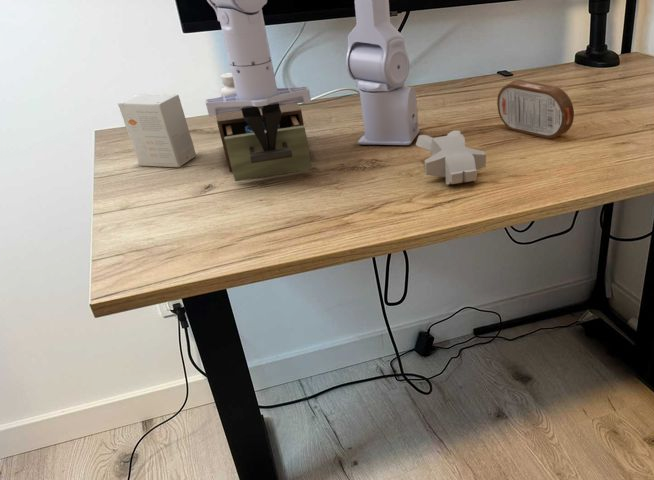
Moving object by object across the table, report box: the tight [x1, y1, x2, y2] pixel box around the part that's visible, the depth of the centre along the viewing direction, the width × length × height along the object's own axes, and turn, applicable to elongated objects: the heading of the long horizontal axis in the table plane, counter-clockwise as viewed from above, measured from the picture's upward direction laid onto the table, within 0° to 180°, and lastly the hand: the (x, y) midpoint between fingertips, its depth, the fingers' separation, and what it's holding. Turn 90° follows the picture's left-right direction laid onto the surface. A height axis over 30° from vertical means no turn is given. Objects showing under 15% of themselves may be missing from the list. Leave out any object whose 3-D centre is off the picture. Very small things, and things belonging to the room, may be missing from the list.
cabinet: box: [215, 103, 305, 173], centre depth 111 cm, size 13×13×8 cm
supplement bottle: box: [220, 72, 236, 97], centre depth 124 cm, size 5×5×10 cm
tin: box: [496, 79, 575, 140], centre depth 113 cm, size 15×3×8 cm, turn 47°
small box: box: [117, 93, 197, 168], centre depth 109 cm, size 8×6×10 cm
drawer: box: [224, 115, 313, 182], centre depth 103 cm, size 17×12×7 cm
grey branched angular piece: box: [415, 130, 487, 186], centre depth 101 cm, size 10×5×15 cm
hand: (270, 157), depth 99 cm, fingers closed
